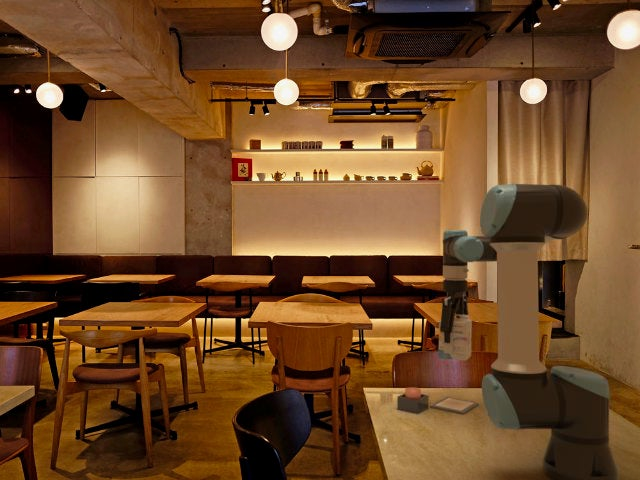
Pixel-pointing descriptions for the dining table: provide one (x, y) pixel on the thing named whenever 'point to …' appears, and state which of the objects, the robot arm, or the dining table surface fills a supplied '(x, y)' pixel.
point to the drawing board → (454, 405)
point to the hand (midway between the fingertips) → (455, 350)
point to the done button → (413, 393)
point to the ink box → (458, 339)
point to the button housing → (413, 404)
